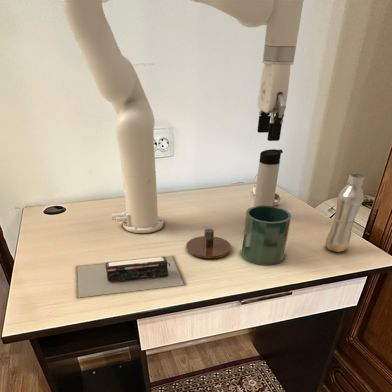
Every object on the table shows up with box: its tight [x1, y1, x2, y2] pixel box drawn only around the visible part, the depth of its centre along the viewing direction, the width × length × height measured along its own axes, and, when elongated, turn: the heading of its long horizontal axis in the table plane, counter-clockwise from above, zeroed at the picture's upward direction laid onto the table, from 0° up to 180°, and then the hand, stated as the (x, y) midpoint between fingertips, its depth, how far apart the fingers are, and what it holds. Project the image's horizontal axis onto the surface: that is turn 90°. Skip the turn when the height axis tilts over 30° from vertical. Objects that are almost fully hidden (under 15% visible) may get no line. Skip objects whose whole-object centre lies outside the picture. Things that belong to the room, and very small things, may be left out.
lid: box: [185, 227, 232, 259], centre depth 101 cm, size 13×13×6 cm
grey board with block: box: [77, 256, 185, 298], centre depth 90 cm, size 14×25×4 cm, turn 104°
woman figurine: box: [248, 185, 281, 207], centre depth 132 cm, size 12×4×18 cm
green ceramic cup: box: [241, 206, 292, 266], centre depth 97 cm, size 12×12×12 cm
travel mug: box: [253, 148, 284, 207], centre depth 115 cm, size 6×7×20 cm
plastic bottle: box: [325, 173, 365, 253], centre depth 98 cm, size 6×7×20 cm
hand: (267, 136), depth 99 cm, fingers open, 9 cm apart
